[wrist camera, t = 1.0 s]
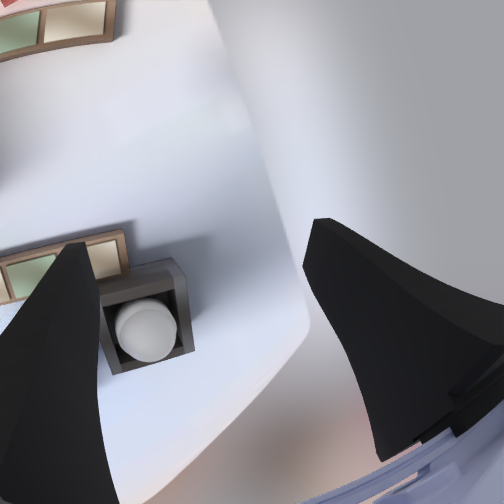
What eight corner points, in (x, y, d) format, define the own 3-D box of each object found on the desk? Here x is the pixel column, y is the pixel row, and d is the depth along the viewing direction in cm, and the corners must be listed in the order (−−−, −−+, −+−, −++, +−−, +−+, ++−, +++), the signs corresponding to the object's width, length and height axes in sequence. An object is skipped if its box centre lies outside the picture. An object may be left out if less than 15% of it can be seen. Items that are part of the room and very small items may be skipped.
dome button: (171, 333, 27) (190, 364, 24) (120, 347, 25) (132, 382, 21) (164, 286, 25) (182, 315, 22) (107, 300, 23) (115, 333, 19)
